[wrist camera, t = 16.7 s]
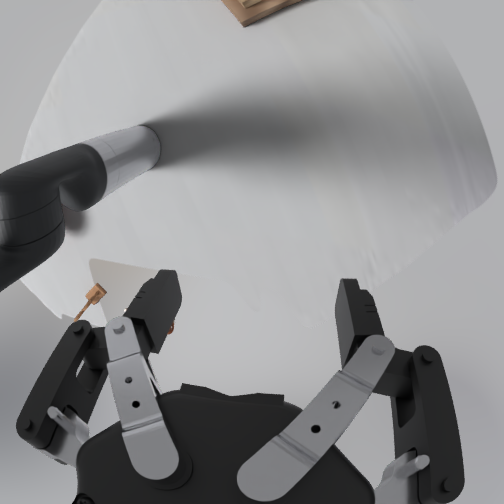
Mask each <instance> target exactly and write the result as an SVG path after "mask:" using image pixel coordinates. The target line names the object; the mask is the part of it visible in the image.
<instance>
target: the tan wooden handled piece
mask: <svg viewBox="0 0 504 504" xmlns="http://www.w3.org/2000/svg"><path fill="white" fill-rule="evenodd" d="M106 293H107V292H106V291H105V290H104V289H103V288H102V287H101V286H100V285H99V284H98V283H97V284H96V285H95V286H94V287H93V288H92V289H91V290H90V291H89V292H88V293H87V295H86V298H87V299H88V300H89V301H88V302H87V304H86V305H85V306H84V308H83V309H82V310H81V311H80V313H79V314H78V315H77V316H76V318H75V319H74V322H76V321H77V320H78V319H79V318H80V316H81V315H82V314H83V312H84V311H85V310H86V309H87V308H88V307H89V305H90V304H91V303H92V304H93V305H95V304H96V303H97V302H98V301H99V300H100V299H101V298H102V297H103V296H104V295H105V294H106Z"/></svg>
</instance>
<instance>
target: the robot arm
mask: <svg viewBox="0 0 504 504" xmlns="http://www.w3.org/2000/svg"><path fill="white" fill-rule="evenodd" d="M159 156H160V142H159V139H158V137H157V135H156V134H155V132H153V131H152V130H151V129H150V128H148V127H145V126H134V127H130V128H126V129H122V130H119V131H115V132H112V133H108V134H105V135H102V136H99V137H96V138H92V139H90V140H87V141H84V142H81V143H78V144H75V145H73V146H70V147H67V148H64V149H61V150H58V151H55V152H52V153H49V154H47V155H44V156H42V157H39V158H36V159H34V160H31V161H28V162H25V163H23V164H20V165H17V166H15V167H13V168H10V169H9V170H6V171H4V172H3V173H1V174H0V292H1V291H2V290H4V289H5V288H7V287H8V286H9V285H11V284H12V283H14V282H15V281H17V280H18V279H20V278H21V277H23V276H24V275H26V274H27V273H29V272H30V271H31V270H33V269H34V268H36V267H37V266H39V265H40V264H42V263H43V262H44V261H46V260H47V259H48V258H49V257H51V256H52V255H53V254H54V253H55V252H56V251H57V250H58V249H59V248H60V246H61V245H62V243H63V241H64V237H65V226H64V218H63V213H62V206H61V203H62V204H63V205H64V206H66V207H67V208H69V209H71V210H75V211H83V210H86V209H88V208H90V207H92V206H93V205H94V204H96V203H97V202H99V201H100V200H102V199H103V198H105V197H106V196H108V195H109V194H110V193H112V192H114V191H115V190H117V189H118V188H120V187H121V186H123V185H124V184H126V183H128V182H129V181H131V180H132V179H134V178H136V177H137V176H139V175H141V174H142V173H144V172H146V171H147V170H149V169H151V168H152V167H153V166H154V165H155V164H156V163H157V161H158V159H159ZM181 302H182V295H181V290H180V286H179V281H178V278H177V273H176V271H175V270H163V269H161V270H160V271H159V272H158V274H157V275H156V277H155V278H154V279H152V278H151V279H150V280H149V281H147V282H146V283H144V284H143V286H142V287H141V289H140V290H139V292H138V293H137V295H136V296H135V298H134V299H133V301H132V302H131V304H130V305H129V307H128V308H127V310H126V312H125V313H124V315H123V316H122V317H116V318H114V319H112V320H111V321H109V322H108V323H107V325H106V327H98V328H92V327H91V325H90V323H89V322H88V321H86V320H78V321H76V322H74V323H72V324H71V325H70V326H69V327H68V329H67V331H66V332H65V334H64V335H63V337H62V339H61V340H60V342H59V344H58V345H57V347H56V348H55V350H54V351H53V353H52V355H51V357H50V358H49V360H48V362H47V363H46V365H45V367H44V368H43V370H42V372H41V374H40V376H39V377H38V379H37V381H36V383H35V385H34V387H33V389H32V390H31V392H30V395H29V396H28V398H27V400H26V402H25V404H24V406H23V409H22V411H21V413H20V415H19V417H18V419H17V423H16V429H17V433H18V434H19V436H20V437H21V438H22V439H24V440H25V441H27V442H28V443H29V444H31V445H32V446H33V447H34V448H35V449H37V450H39V451H40V452H42V453H43V454H45V455H46V456H48V457H50V458H52V459H54V460H56V461H57V462H59V463H61V464H64V465H67V464H69V465H71V466H73V467H75V468H76V471H77V479H78V488H77V495H76V498H75V500H74V501H73V503H72V504H446V503H449V502H451V501H453V500H455V499H456V498H457V497H458V496H459V495H460V493H461V492H462V490H463V487H464V482H465V478H464V466H463V457H462V449H461V442H460V436H459V430H458V424H457V420H456V414H455V409H454V405H453V400H452V396H451V392H450V388H449V384H448V380H447V377H446V373H445V370H444V367H443V363H442V360H441V357H440V354H439V353H438V352H437V351H436V350H435V349H434V348H432V347H430V346H426V345H423V346H419V347H417V348H416V349H415V350H414V352H409V351H404V350H400V349H397V348H395V347H394V344H393V343H392V341H391V340H390V339H388V338H387V337H385V335H384V331H383V328H382V325H381V321H380V318H379V315H378V313H377V308H376V306H375V302H374V299H373V297H372V296H371V294H370V293H369V292H368V291H367V290H360V288H359V284H358V281H357V279H341V280H340V284H339V289H338V294H337V299H336V304H335V318H336V324H337V331H338V338H339V347H340V355H341V364H342V371H340V370H339V371H338V372H337V373H336V374H335V375H334V376H333V377H332V378H331V380H330V381H329V382H328V383H327V384H326V385H325V387H324V388H323V389H322V390H321V391H320V392H319V394H318V395H317V396H316V397H315V398H314V399H313V400H312V401H311V403H309V405H308V406H307V407H306V408H305V409H304V410H302V409H301V408H299V407H297V406H295V405H293V404H291V403H287V402H284V395H280V394H278V395H277V394H263V393H256V394H248V395H239V396H228V395H225V394H222V393H220V392H217V391H214V390H211V389H209V388H207V387H201V386H195V385H189V384H184V383H182V386H181V389H180V390H174V391H170V392H166V393H162V391H161V389H160V387H159V384H158V382H157V379H156V377H155V374H154V371H153V369H152V366H151V363H150V360H149V358H148V356H149V354H150V352H152V353H157V354H158V353H159V352H160V350H161V347H162V345H163V343H164V341H165V338H166V336H167V334H168V332H169V330H170V327H171V325H172V323H173V321H174V319H175V317H176V314H177V312H178V310H179V308H180V306H181ZM82 360H83V361H84V364H83V366H82V368H81V370H80V372H79V374H78V376H77V378H76V372H77V369H78V367H79V365H80V363H81V361H82ZM108 374H109V378H110V383H111V387H112V391H113V395H114V399H115V403H116V407H117V411H118V414H119V418H120V421H118V422H116V423H115V424H113V425H112V426H110V427H108V428H107V429H105V430H104V431H102V432H100V433H99V434H97V435H95V436H93V437H92V438H90V436H89V428H88V425H87V424H88V421H89V419H90V416H91V414H92V411H93V409H94V406H95V404H96V401H97V399H98V396H99V394H100V392H101V390H102V387H103V385H104V383H105V381H106V378H107V376H108ZM372 392H373V393H377V394H382V395H386V396H390V398H391V407H392V417H393V428H394V443H395V444H394V445H395V460H394V461H392V462H391V463H390V464H389V465H388V466H387V467H386V468H385V470H384V472H383V476H382V480H381V483H380V484H379V486H378V487H377V488H376V489H375V490H373V487H372V486H371V484H370V482H369V481H368V480H367V479H366V478H365V477H364V476H363V475H362V474H361V473H360V472H359V471H358V470H357V468H356V467H355V466H354V465H353V464H352V463H351V462H350V461H349V460H348V459H347V458H346V457H345V455H344V454H343V453H342V452H341V451H340V450H339V449H338V448H337V447H336V445H335V443H336V441H337V440H338V439H339V438H340V437H341V435H342V434H343V433H344V431H345V430H346V429H347V427H348V426H349V425H350V423H351V422H352V421H353V419H354V418H355V416H356V415H357V414H358V412H359V411H360V409H361V408H362V407H363V405H364V404H365V402H366V401H367V399H368V398H369V396H370V395H371V393H372Z"/></svg>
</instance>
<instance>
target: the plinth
mask: <svg viewBox="0 0 504 504" xmlns="http://www.w3.org/2000/svg"><path fill="white" fill-rule="evenodd" d="M221 1H222V2H223V3H224V4H225V5H226V6H227V8H228V9H229V10H230V11H231V12H232V13H233V15H234V16H235V17H236V18H237V19H238V21H239V22H240V23H241V24H242V26H243V27H246V26H248V25H249V24H251V23H253V22H255V21H257V20H259V19H261V18H263V17H265V16H267V15H269V14H271V13H274V12H276V11H278V10H280V9H283V8H285V7H287V6H289V5H292V4H294V3H297V2H299V1H302V0H221Z"/></svg>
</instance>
